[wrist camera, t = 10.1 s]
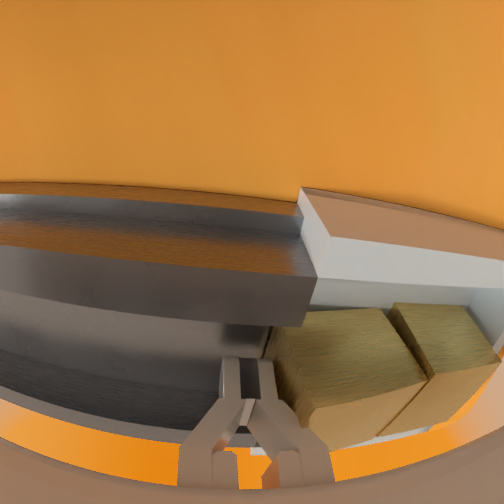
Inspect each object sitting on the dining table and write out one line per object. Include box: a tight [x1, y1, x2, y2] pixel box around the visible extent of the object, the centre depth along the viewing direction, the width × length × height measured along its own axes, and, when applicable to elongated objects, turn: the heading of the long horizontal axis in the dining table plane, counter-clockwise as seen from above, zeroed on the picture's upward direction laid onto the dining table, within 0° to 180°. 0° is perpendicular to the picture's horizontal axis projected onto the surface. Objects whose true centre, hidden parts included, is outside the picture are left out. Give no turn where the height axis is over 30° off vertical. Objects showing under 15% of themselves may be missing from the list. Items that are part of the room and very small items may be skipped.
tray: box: [250, 187, 504, 455], centre depth 11 cm, size 10×11×3 cm
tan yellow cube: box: [263, 308, 429, 452], centre depth 9 cm, size 4×4×4 cm
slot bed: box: [0, 183, 318, 447], centre depth 9 cm, size 17×10×3 cm, turn 82°
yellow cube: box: [376, 302, 502, 437], centre depth 10 cm, size 4×4×4 cm
